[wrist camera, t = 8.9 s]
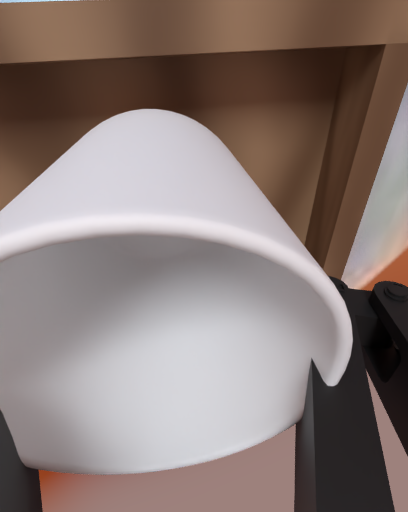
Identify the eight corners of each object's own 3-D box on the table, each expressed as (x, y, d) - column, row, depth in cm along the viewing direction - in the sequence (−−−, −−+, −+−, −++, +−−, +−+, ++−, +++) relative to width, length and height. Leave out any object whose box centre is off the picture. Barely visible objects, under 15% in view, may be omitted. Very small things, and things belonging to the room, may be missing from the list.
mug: (263, 278, 18) (350, 463, 10) (149, 316, 19) (138, 518, 10) (211, 73, 11) (367, 101, 3) (31, 145, 12) (-302, 350, 3)
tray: (53, 317, 22) (37, 354, 19) (-111, 23, 11) (-201, 9, 8) (309, 282, 24) (329, 311, 21) (378, 5, 13) (439, -11, 10)
